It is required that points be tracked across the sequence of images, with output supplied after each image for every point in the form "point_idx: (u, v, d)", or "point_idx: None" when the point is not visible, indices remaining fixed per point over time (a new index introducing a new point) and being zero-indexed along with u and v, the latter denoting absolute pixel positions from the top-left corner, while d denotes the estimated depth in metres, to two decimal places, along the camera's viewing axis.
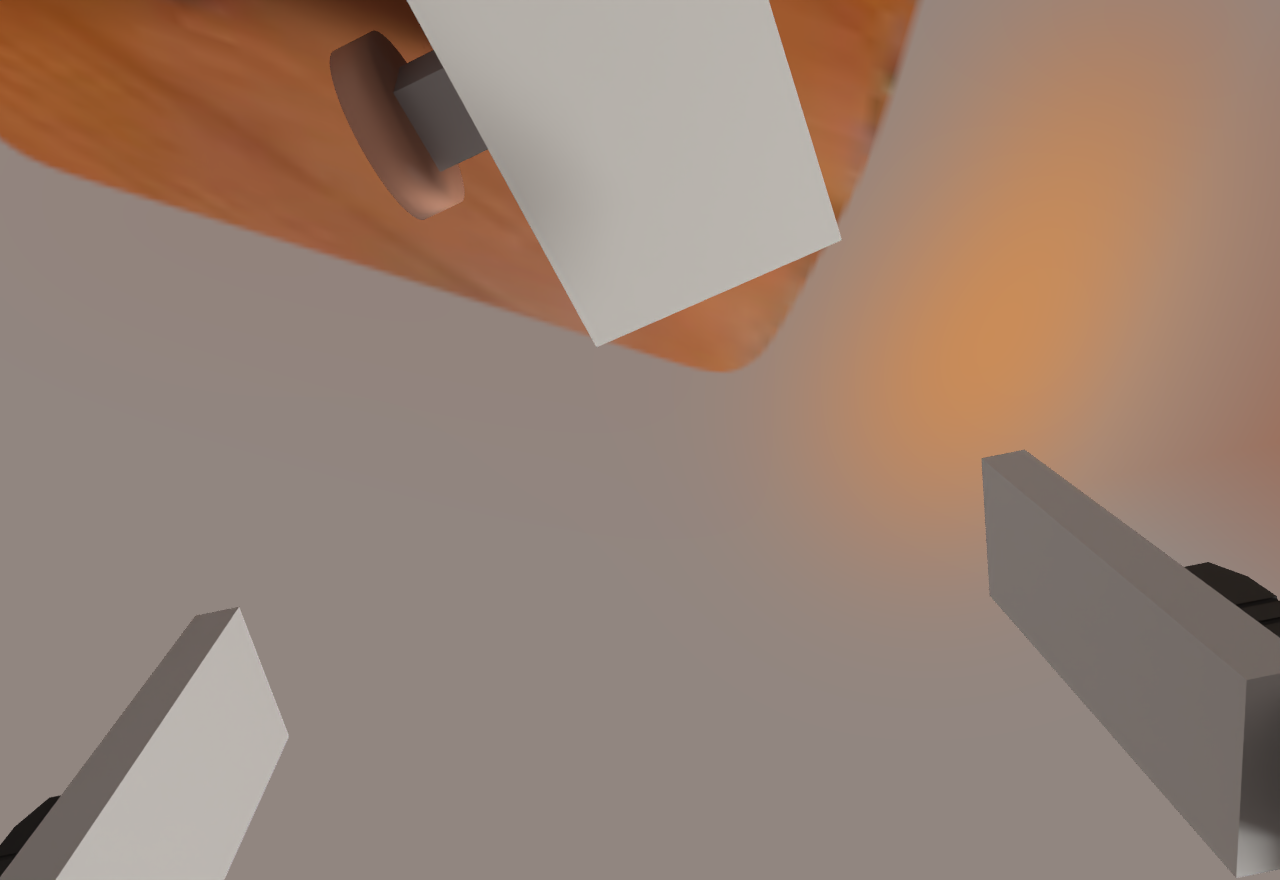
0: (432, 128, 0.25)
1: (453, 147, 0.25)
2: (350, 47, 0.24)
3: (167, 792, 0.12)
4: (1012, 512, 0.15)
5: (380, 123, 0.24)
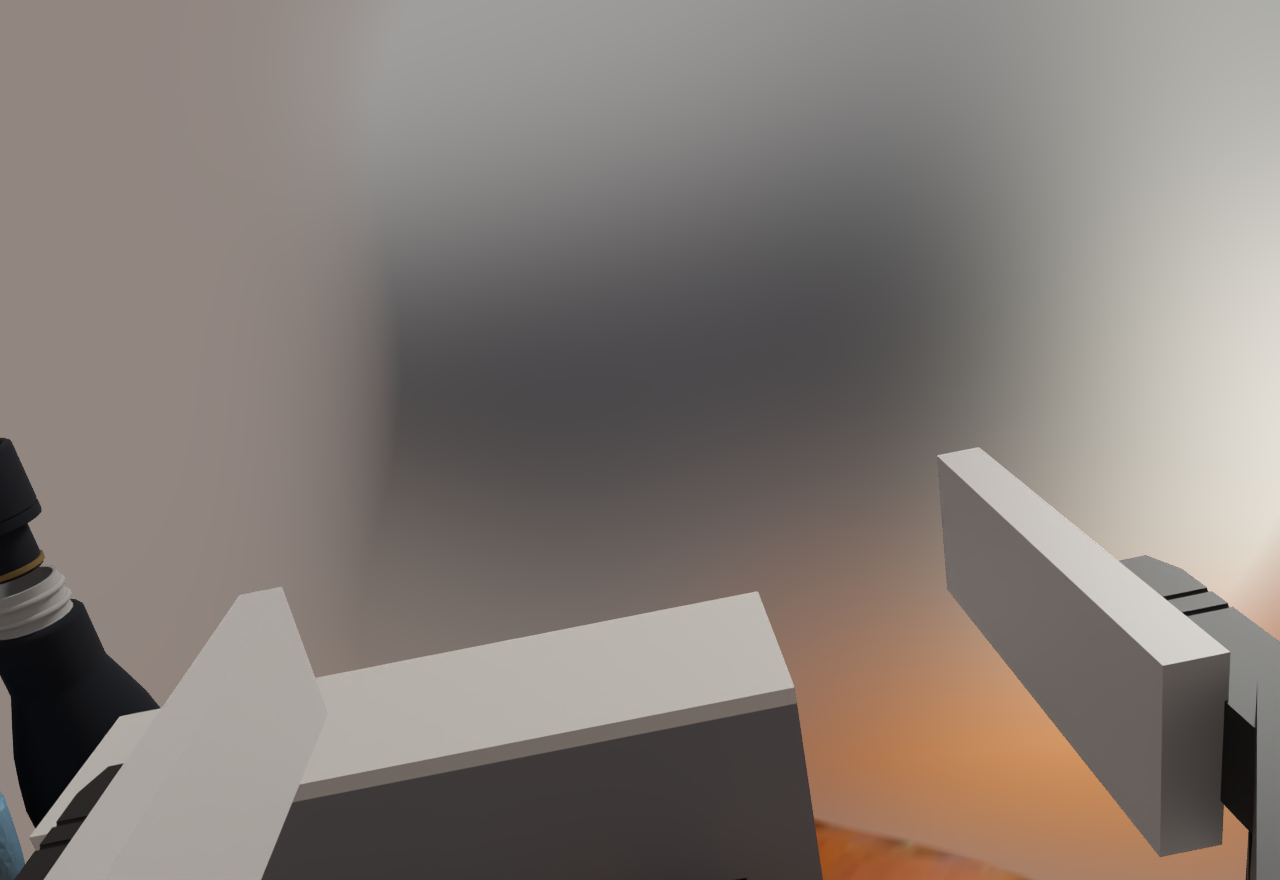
0: None
1: None
2: None
3: (223, 760, 0.13)
4: (964, 507, 0.15)
5: None
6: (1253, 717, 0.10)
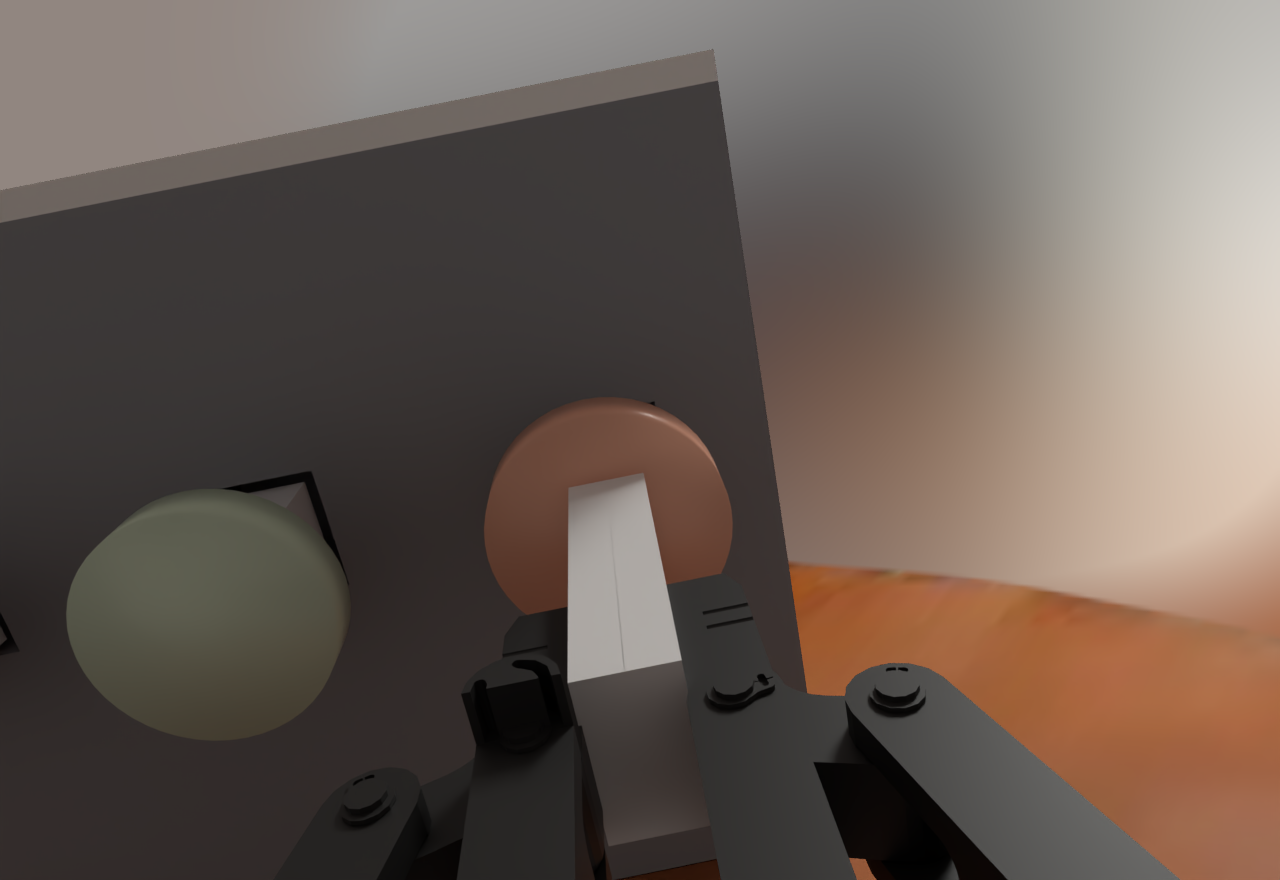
0: None
1: None
2: None
3: None
4: None
5: (540, 423, 0.18)
6: None
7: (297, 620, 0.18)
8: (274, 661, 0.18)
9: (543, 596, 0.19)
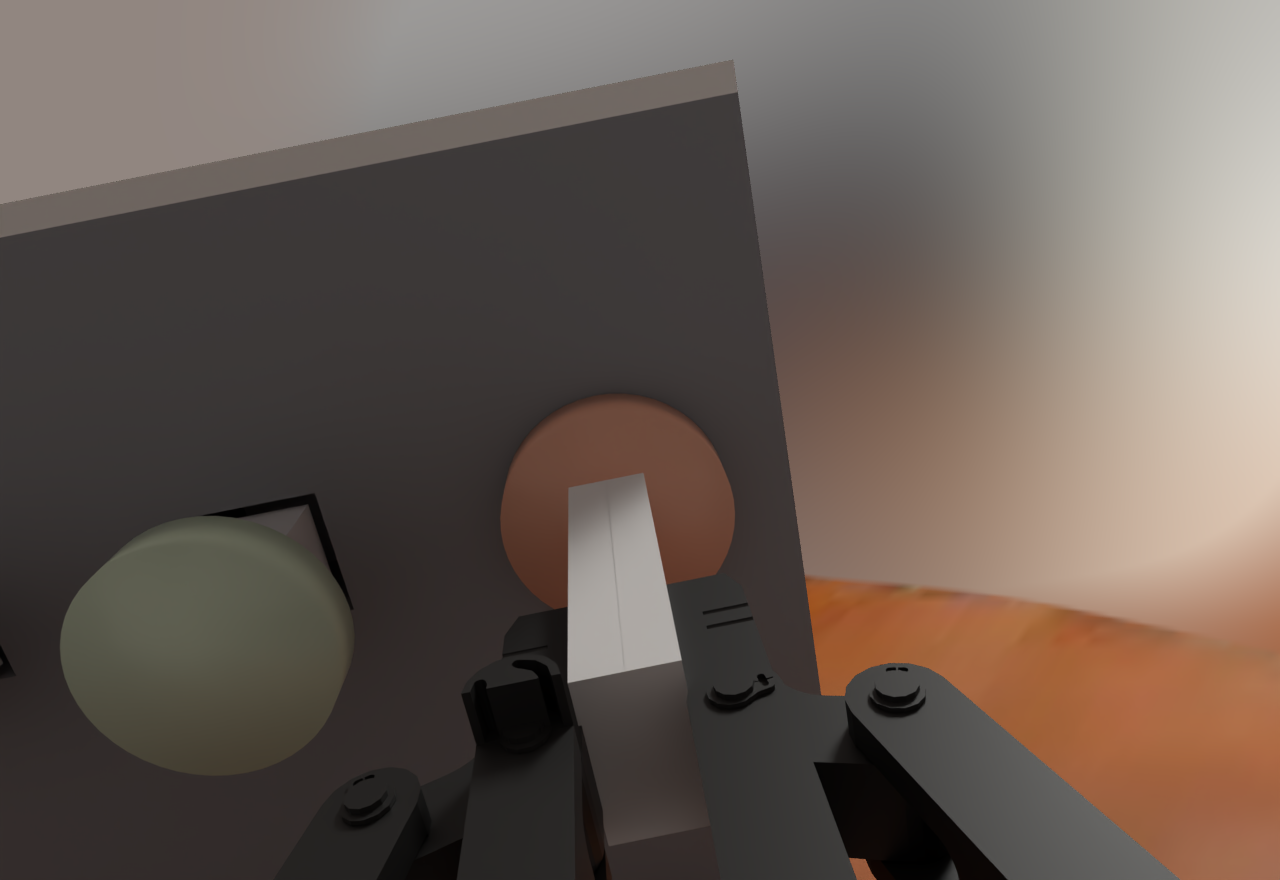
0: None
1: None
2: None
3: None
4: None
5: (553, 417, 0.19)
6: None
7: (298, 653, 0.17)
8: (275, 695, 0.17)
9: (556, 581, 0.20)
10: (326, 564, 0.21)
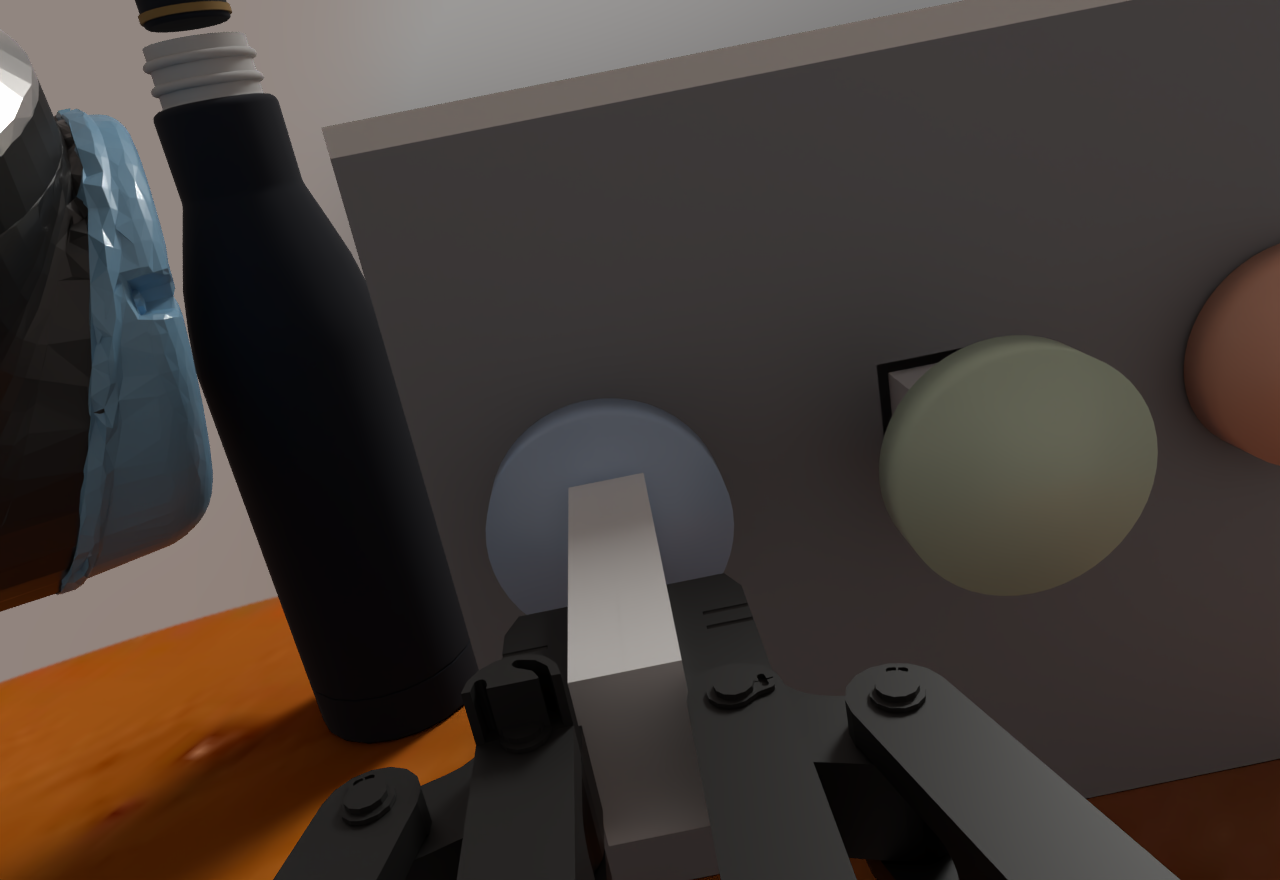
0: None
1: None
2: (1201, 361, 0.20)
3: None
4: None
5: (1269, 257, 0.20)
6: None
7: (1120, 467, 0.17)
8: (1085, 511, 0.18)
9: (1256, 421, 0.20)
10: None
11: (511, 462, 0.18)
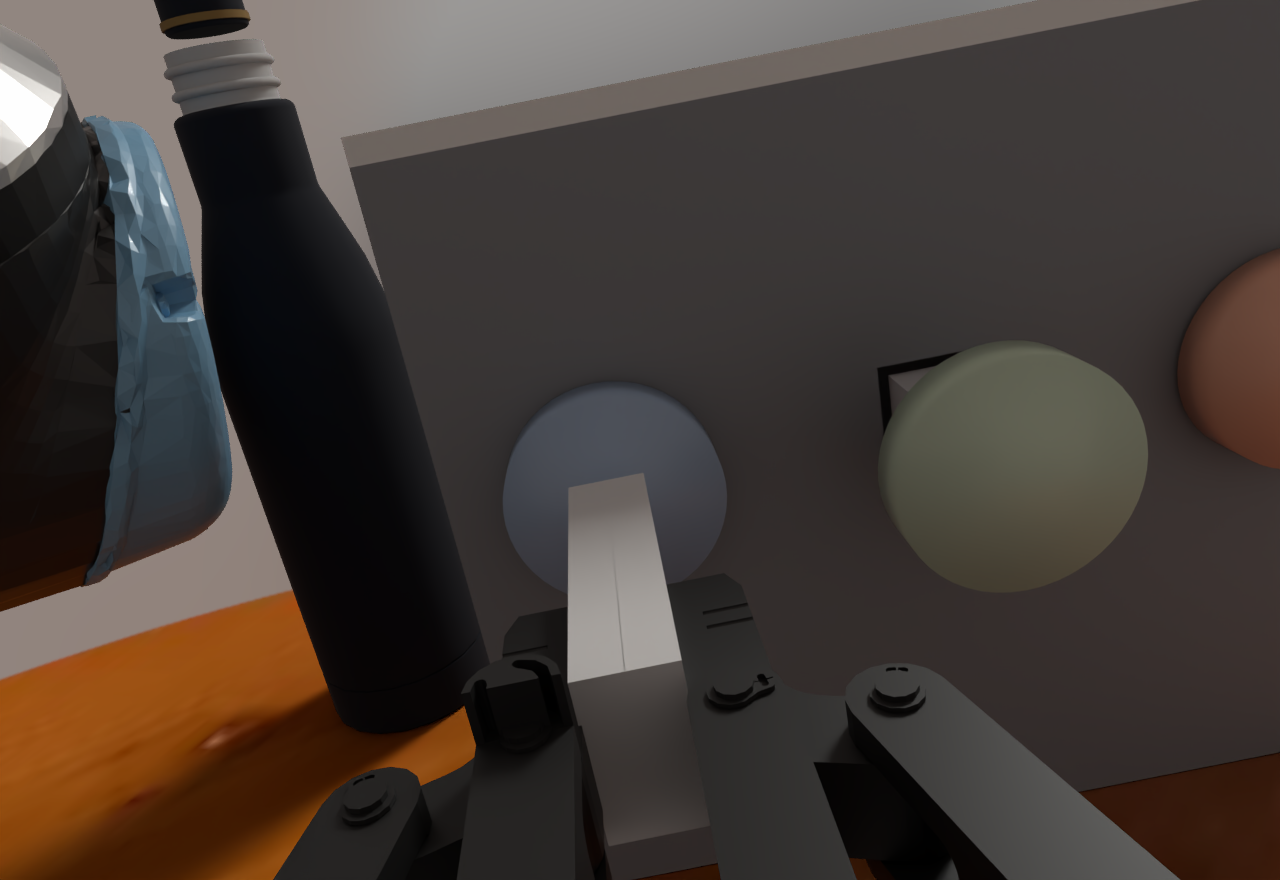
0: None
1: None
2: (1194, 365, 0.21)
3: None
4: None
5: (1261, 265, 0.20)
6: None
7: (1112, 468, 0.18)
8: (1077, 511, 0.18)
9: (1247, 424, 0.21)
10: None
11: (526, 438, 0.20)
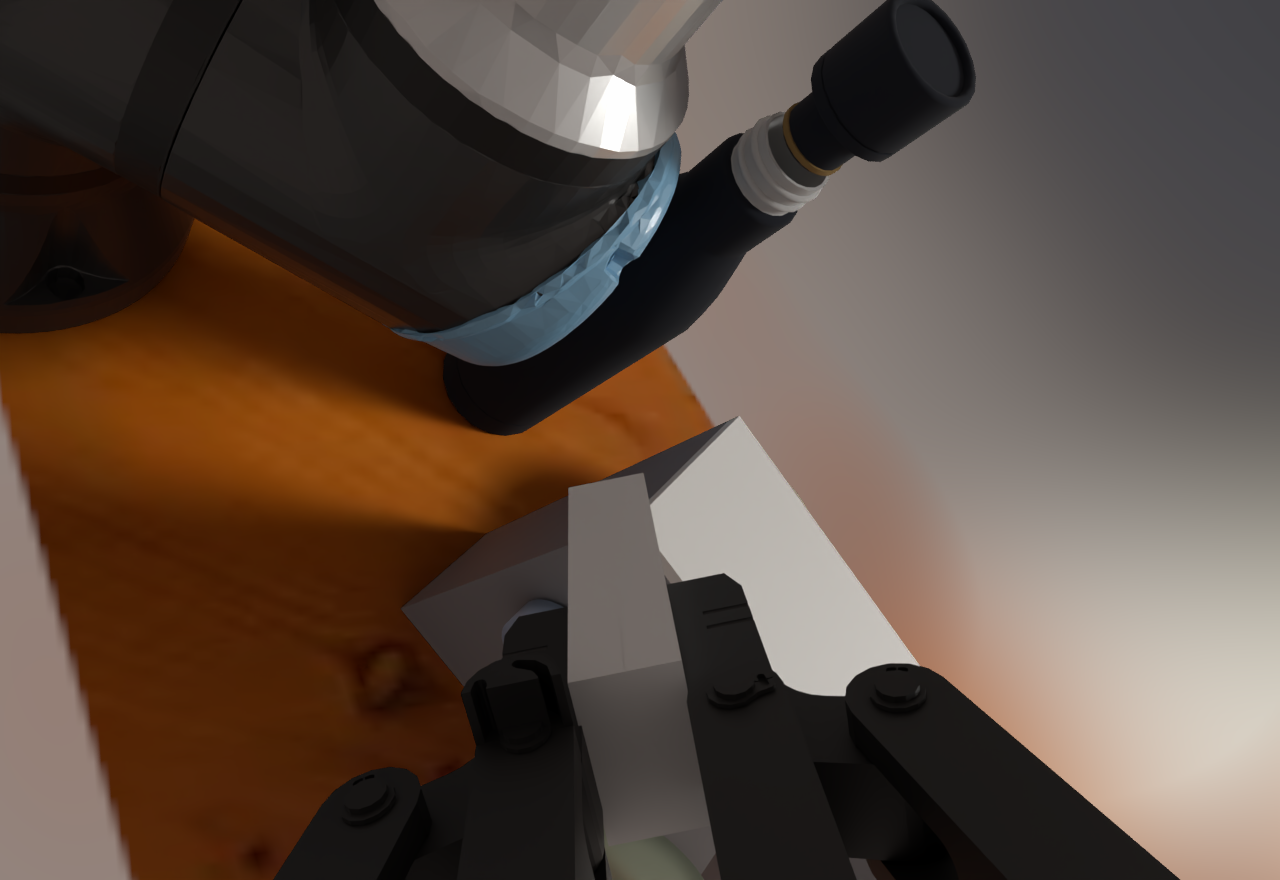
0: None
1: None
2: None
3: None
4: None
5: None
6: None
7: None
8: None
9: None
10: None
11: None
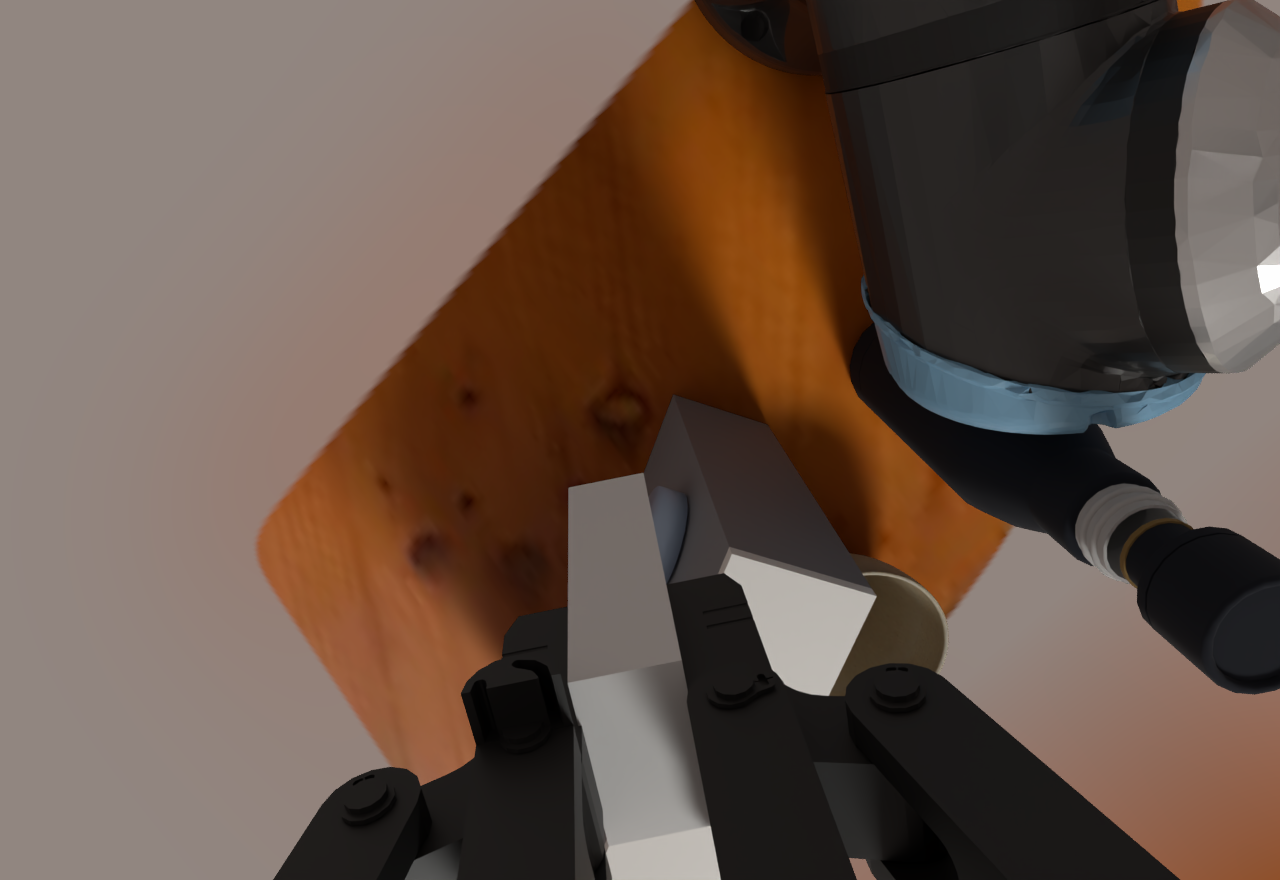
0: None
1: None
2: None
3: None
4: None
5: None
6: None
7: None
8: None
9: None
10: None
11: (660, 524, 0.41)
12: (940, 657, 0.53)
